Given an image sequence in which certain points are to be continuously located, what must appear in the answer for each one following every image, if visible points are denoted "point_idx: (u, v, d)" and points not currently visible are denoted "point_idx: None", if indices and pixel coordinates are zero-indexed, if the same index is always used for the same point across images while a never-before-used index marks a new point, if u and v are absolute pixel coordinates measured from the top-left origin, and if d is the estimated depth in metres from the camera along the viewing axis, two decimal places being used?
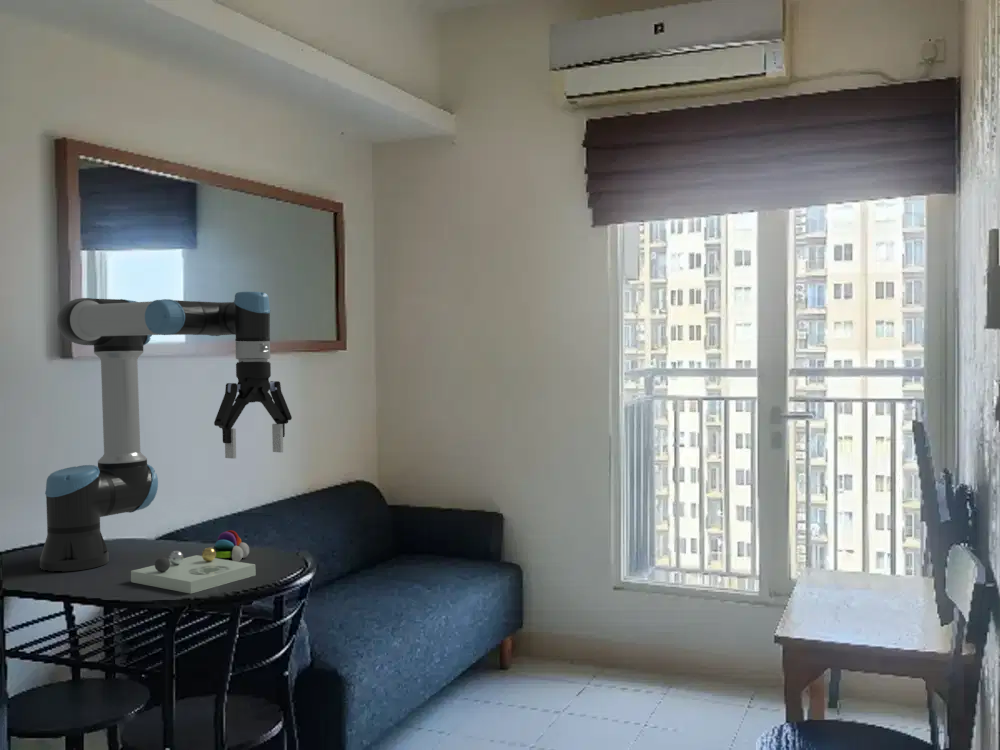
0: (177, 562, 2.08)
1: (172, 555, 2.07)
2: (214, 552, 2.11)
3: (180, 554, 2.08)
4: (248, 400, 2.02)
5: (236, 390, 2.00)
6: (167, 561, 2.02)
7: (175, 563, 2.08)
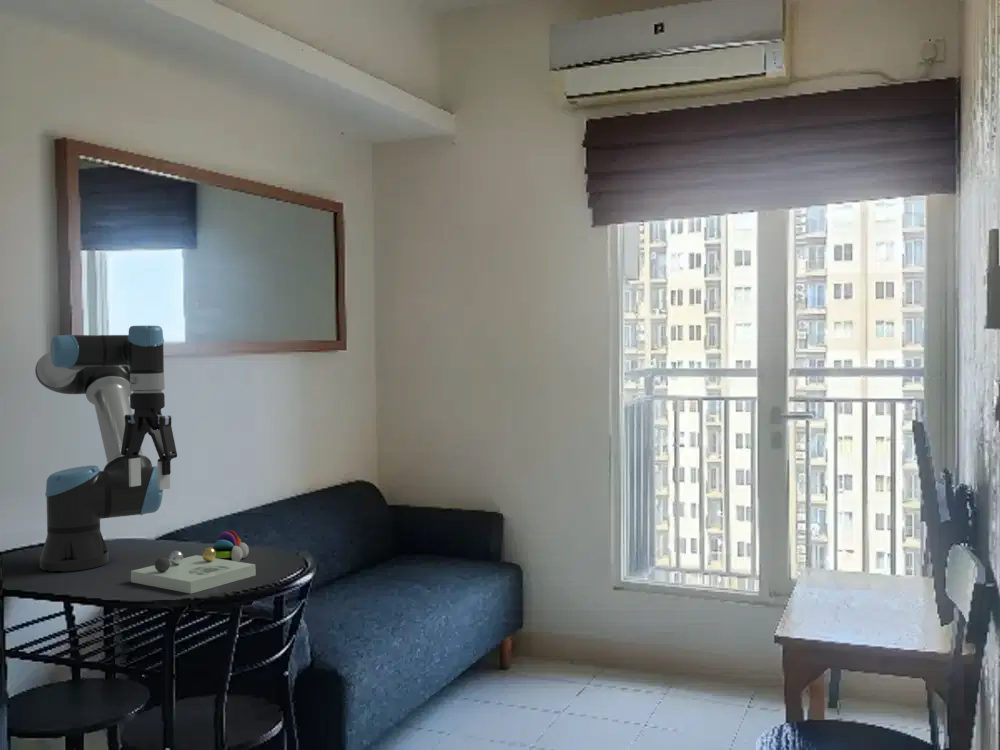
0: (177, 562, 2.08)
1: (172, 555, 2.07)
2: (214, 552, 2.11)
3: (180, 554, 2.08)
4: (134, 430, 2.13)
5: (127, 421, 2.15)
6: (167, 561, 2.02)
7: (175, 563, 2.08)
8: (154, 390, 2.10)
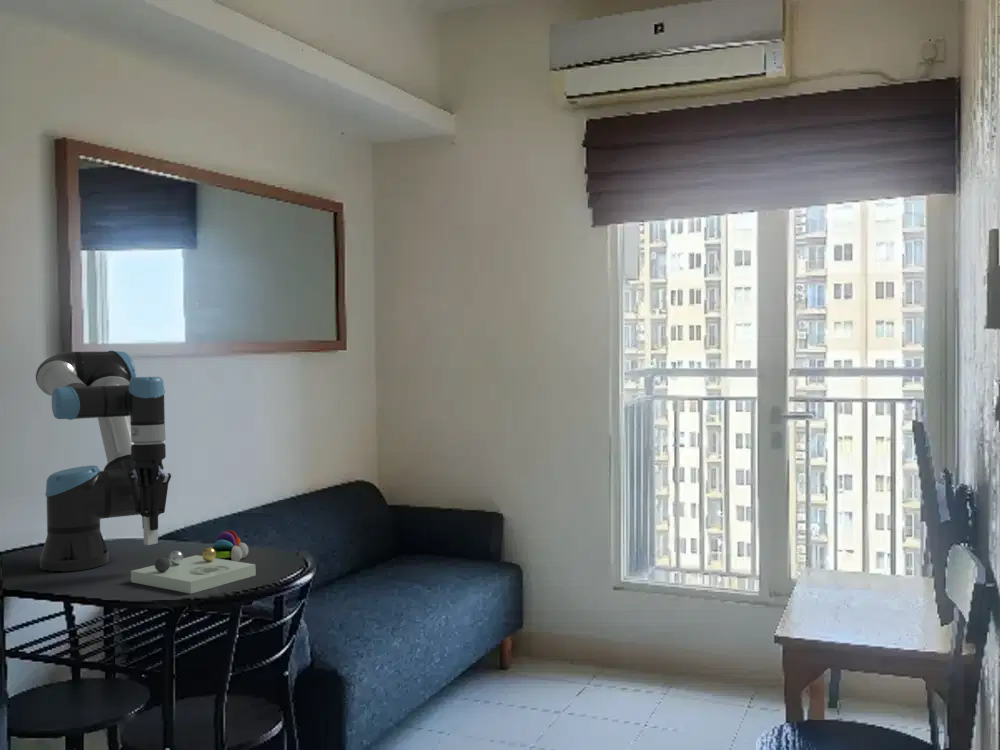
0: (177, 562, 2.08)
1: (172, 555, 2.07)
2: (214, 552, 2.11)
3: (180, 554, 2.08)
4: (139, 483, 2.12)
5: (131, 477, 2.14)
6: (167, 561, 2.02)
7: (175, 563, 2.08)
8: (155, 441, 2.10)
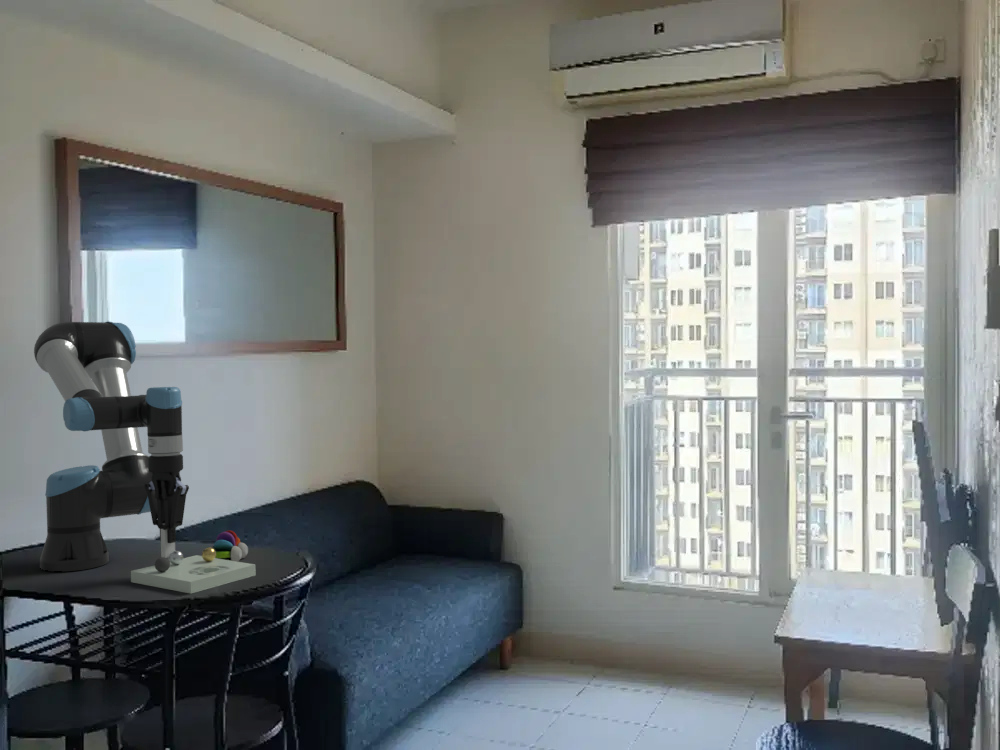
0: (177, 562, 2.08)
1: (172, 555, 2.07)
2: (214, 552, 2.11)
3: (180, 554, 2.08)
4: (157, 495, 2.09)
5: (148, 488, 2.11)
6: (167, 561, 2.02)
7: (175, 563, 2.08)
8: (172, 453, 2.07)
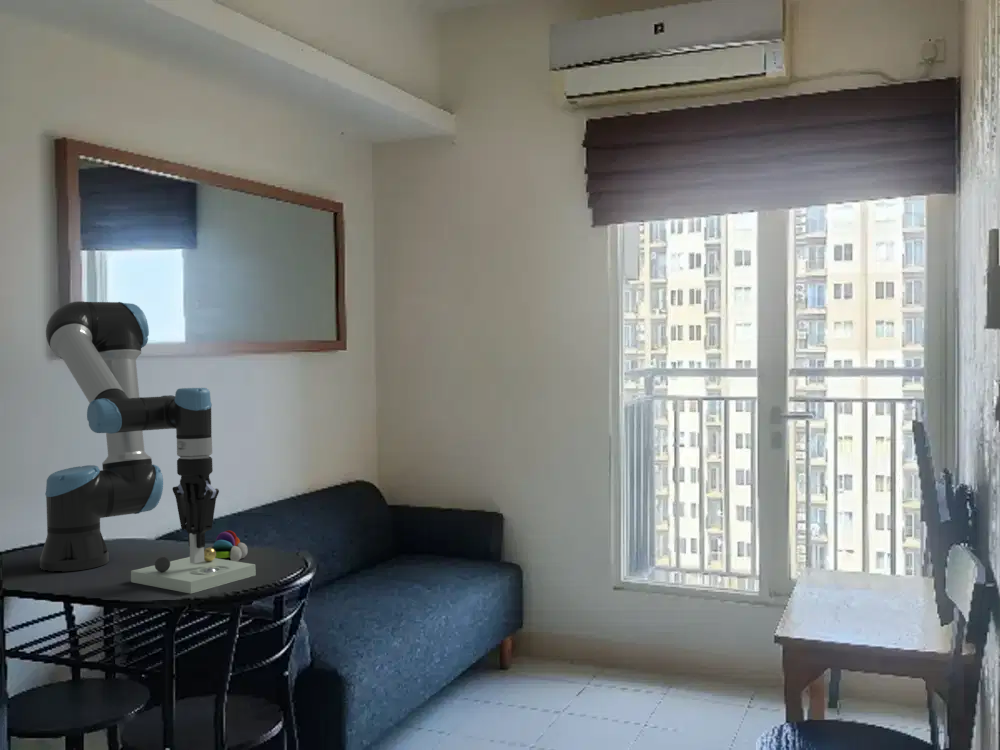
0: None
1: None
2: (214, 552, 2.11)
3: None
4: (186, 499, 2.04)
5: (176, 492, 2.06)
6: (167, 561, 2.02)
7: None
8: (202, 456, 2.02)
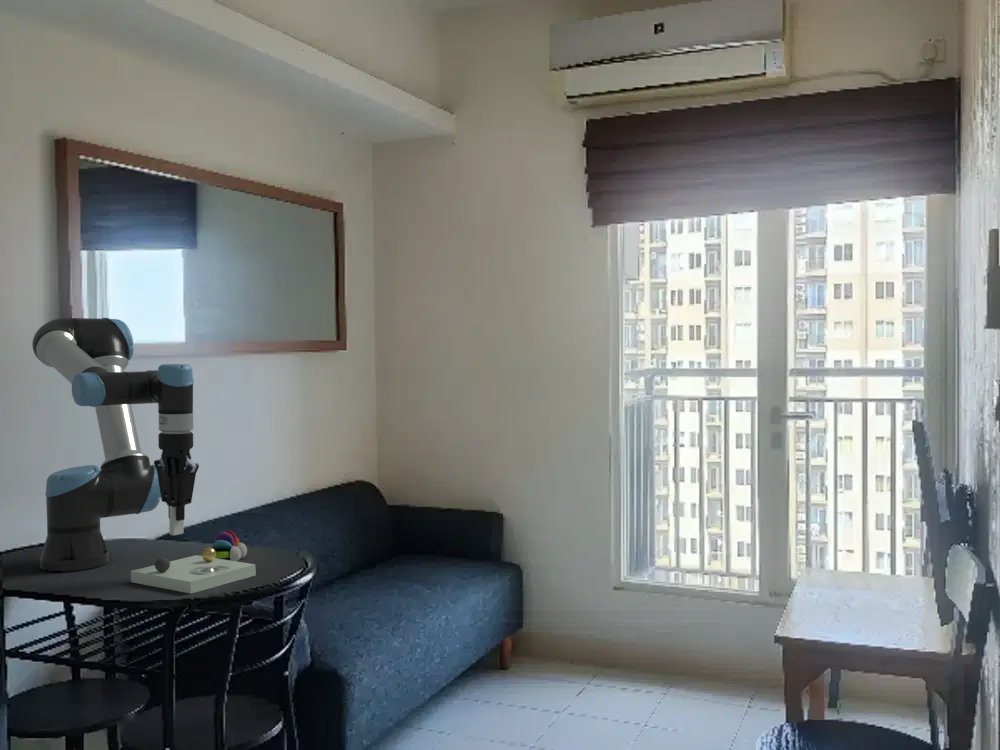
0: None
1: None
2: (214, 552, 2.11)
3: None
4: (166, 472, 2.08)
5: (158, 465, 2.11)
6: (167, 561, 2.02)
7: None
8: (183, 431, 2.06)
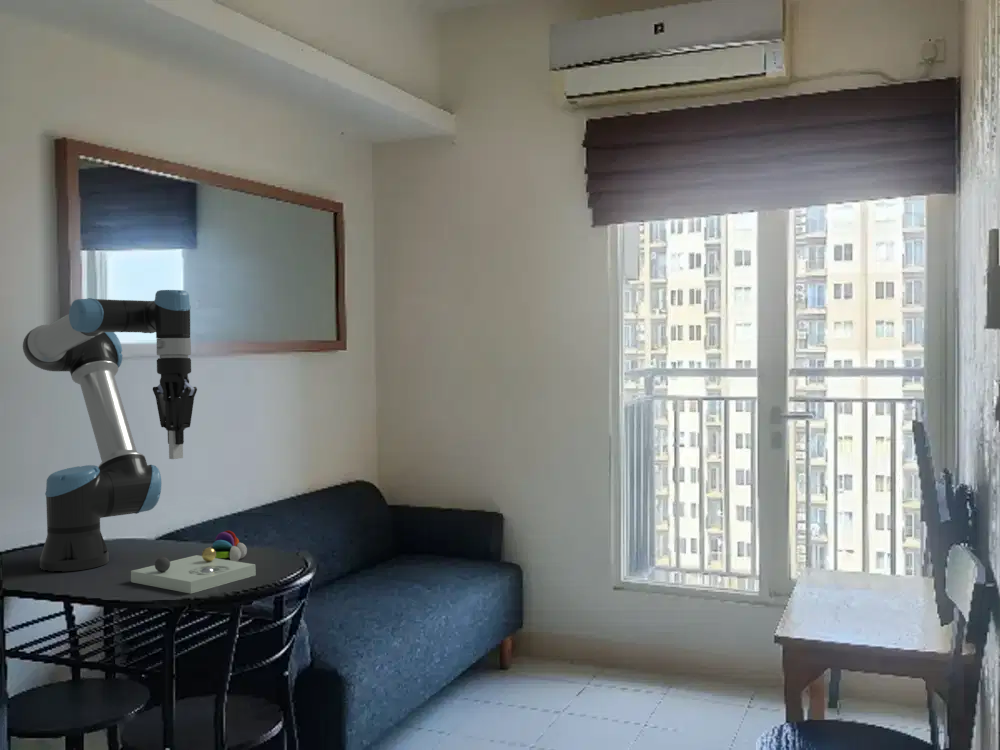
0: None
1: None
2: (214, 552, 2.11)
3: None
4: (165, 397, 2.11)
5: (156, 391, 2.13)
6: (167, 561, 2.02)
7: None
8: (181, 355, 2.09)
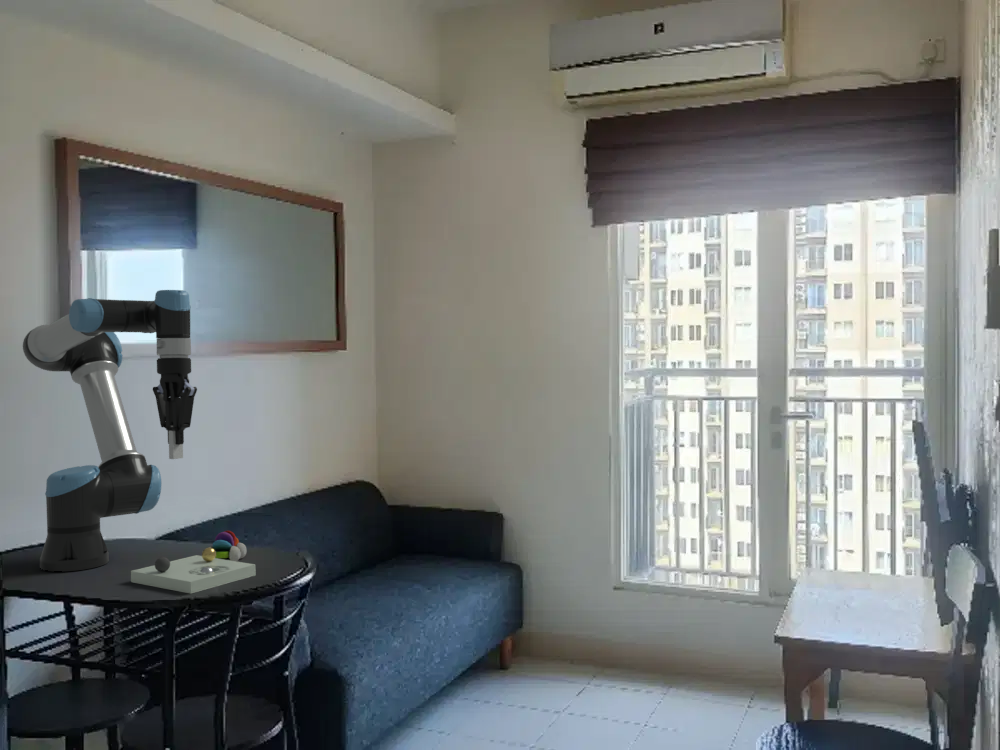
0: None
1: None
2: (214, 552, 2.11)
3: None
4: (165, 397, 2.11)
5: (156, 391, 2.13)
6: (167, 561, 2.02)
7: None
8: (181, 355, 2.09)
